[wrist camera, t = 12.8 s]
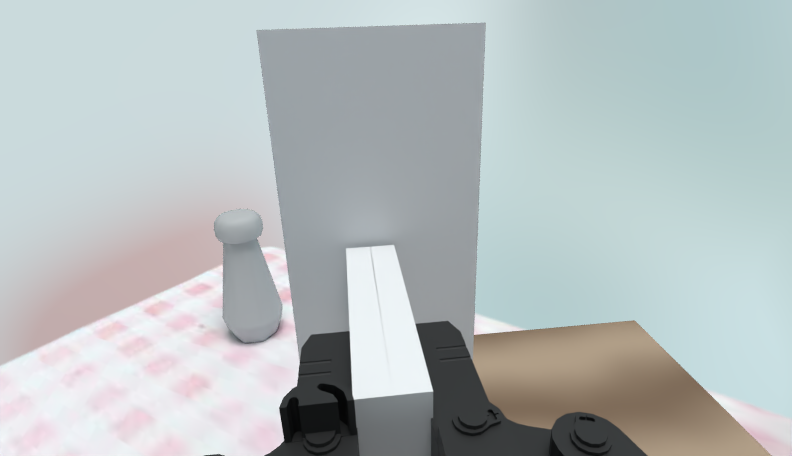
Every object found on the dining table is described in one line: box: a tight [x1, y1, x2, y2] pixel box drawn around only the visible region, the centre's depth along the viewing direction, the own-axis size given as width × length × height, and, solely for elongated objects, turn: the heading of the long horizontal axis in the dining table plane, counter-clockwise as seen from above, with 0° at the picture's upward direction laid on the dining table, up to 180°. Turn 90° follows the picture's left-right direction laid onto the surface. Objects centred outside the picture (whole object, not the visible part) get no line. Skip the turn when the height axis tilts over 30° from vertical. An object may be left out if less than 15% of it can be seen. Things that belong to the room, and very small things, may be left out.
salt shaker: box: [214, 209, 282, 343], centre depth 47 cm, size 6×6×13 cm
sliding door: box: [257, 23, 486, 361], centre depth 29 cm, size 25×6×28 cm, turn 6°
